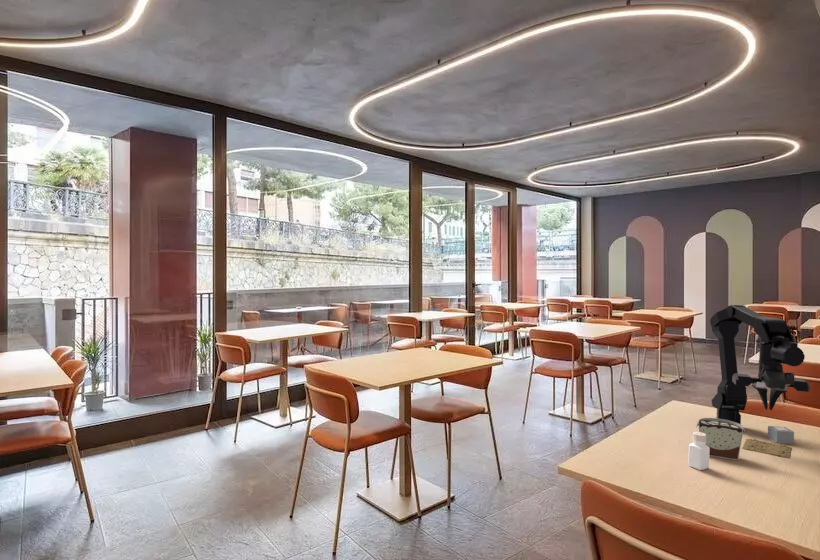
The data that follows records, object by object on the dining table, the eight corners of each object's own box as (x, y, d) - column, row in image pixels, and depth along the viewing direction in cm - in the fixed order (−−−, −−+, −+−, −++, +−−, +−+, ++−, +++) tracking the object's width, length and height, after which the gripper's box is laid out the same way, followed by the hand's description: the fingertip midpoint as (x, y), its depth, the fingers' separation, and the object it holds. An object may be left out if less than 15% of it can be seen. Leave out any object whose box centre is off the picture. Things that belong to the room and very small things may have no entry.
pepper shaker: (700, 471, 137) (702, 437, 137) (687, 465, 141) (688, 432, 140) (709, 468, 139) (711, 434, 138) (695, 463, 142) (697, 430, 142)
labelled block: (776, 443, 160) (776, 430, 160) (767, 437, 165) (768, 425, 165) (793, 444, 159) (794, 431, 159) (784, 438, 164) (784, 426, 164)
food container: (740, 454, 150) (741, 421, 150) (744, 461, 145) (745, 427, 144) (693, 447, 155) (694, 415, 155) (695, 453, 150) (696, 420, 149)
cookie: (745, 439, 164) (745, 436, 164) (792, 448, 156) (792, 445, 156) (740, 449, 155) (741, 446, 155) (790, 460, 147) (790, 457, 147)
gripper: (740, 361, 150) (738, 412, 151) (817, 367, 143) (815, 421, 144) (732, 355, 161) (731, 403, 161) (804, 360, 154) (801, 410, 154)
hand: (768, 409), depth 155 cm, fingers closed
